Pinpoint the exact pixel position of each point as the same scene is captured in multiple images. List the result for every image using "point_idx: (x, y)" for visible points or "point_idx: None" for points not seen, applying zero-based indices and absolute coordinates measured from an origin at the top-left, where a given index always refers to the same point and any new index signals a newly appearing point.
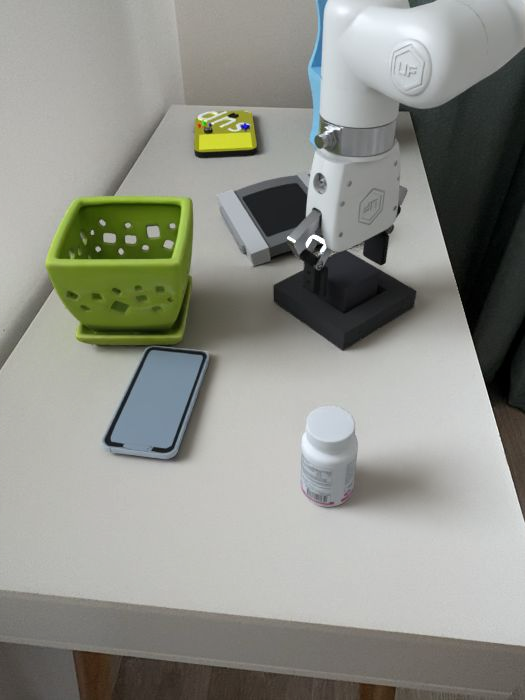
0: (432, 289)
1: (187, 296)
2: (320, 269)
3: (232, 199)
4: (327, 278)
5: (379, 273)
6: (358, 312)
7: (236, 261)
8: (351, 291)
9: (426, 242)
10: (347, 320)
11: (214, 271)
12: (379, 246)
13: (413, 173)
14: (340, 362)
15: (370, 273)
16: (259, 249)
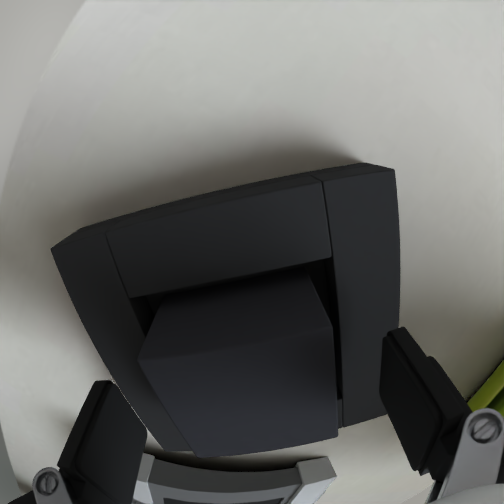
0: (21, 267)
1: (487, 405)
2: (474, 412)
3: None
4: (414, 383)
5: (118, 363)
6: (286, 241)
7: (340, 466)
8: (292, 320)
9: (7, 379)
10: (347, 221)
11: (382, 453)
12: (101, 444)
13: (15, 461)
14: (393, 130)
15: (175, 367)
16: (319, 482)
